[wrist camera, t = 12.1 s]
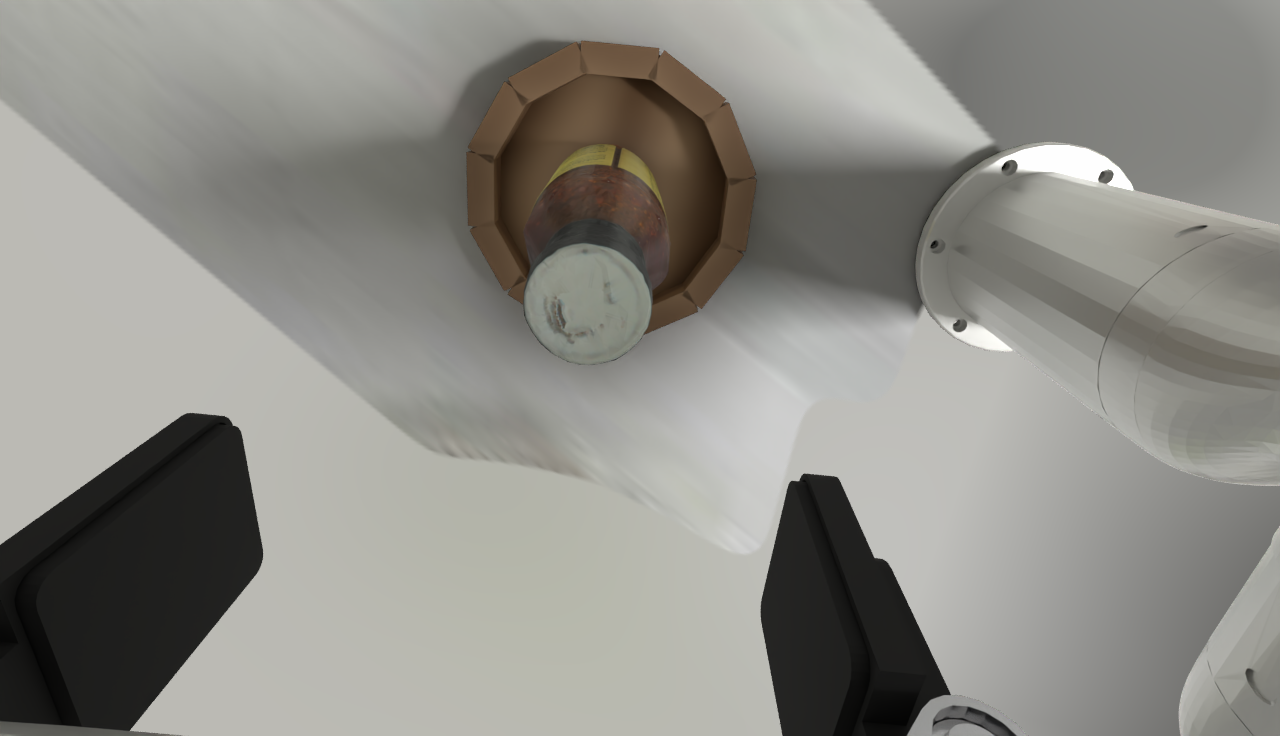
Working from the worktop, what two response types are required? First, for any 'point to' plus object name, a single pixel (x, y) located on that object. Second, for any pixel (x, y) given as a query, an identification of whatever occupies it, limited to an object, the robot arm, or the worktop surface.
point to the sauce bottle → (595, 255)
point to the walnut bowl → (635, 120)
